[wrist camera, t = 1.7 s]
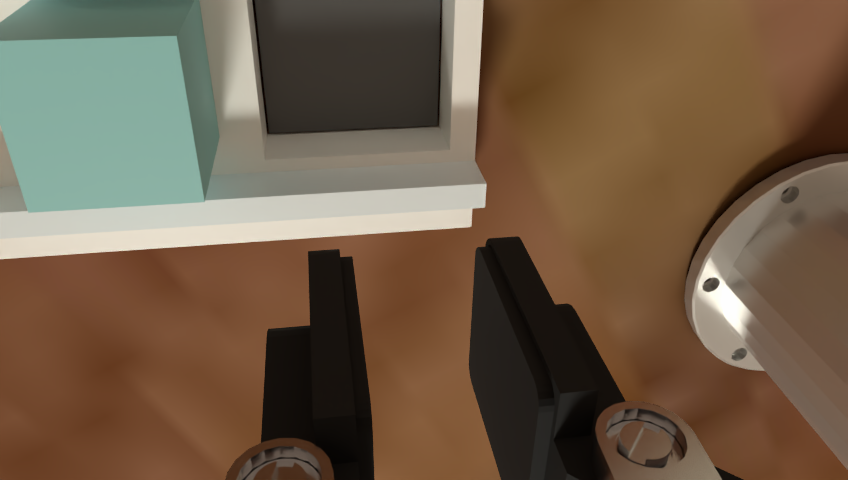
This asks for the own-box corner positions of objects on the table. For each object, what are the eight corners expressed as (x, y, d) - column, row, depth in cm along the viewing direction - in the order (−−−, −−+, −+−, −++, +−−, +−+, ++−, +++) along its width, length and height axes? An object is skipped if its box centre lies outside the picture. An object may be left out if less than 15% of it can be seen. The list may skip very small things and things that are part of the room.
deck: (475, -167, 24) (508, -161, 20) (459, 198, 31) (481, 252, 28) (-485, -175, 20) (-666, -171, 16) (-248, 242, 27) (-335, 312, 24)
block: (198, -7, 23) (176, 35, 19) (219, 137, 26) (204, 202, 21) (34, -3, 22) (-27, 41, 18) (73, 144, 25) (28, 212, 21)
